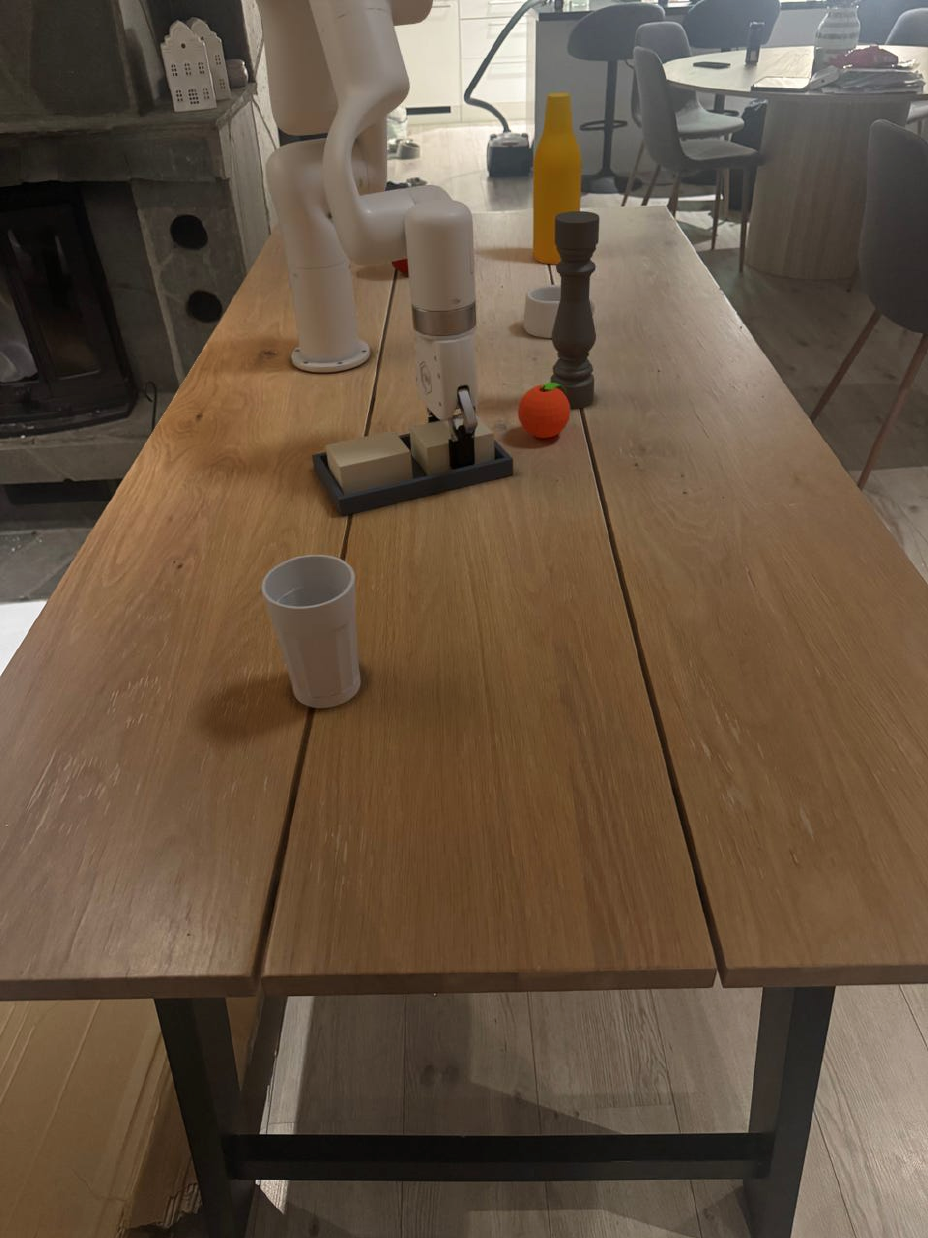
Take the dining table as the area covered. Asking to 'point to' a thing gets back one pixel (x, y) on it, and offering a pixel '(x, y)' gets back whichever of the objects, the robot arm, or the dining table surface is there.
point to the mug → (543, 310)
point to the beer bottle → (554, 176)
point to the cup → (316, 627)
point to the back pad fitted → (369, 462)
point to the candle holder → (575, 306)
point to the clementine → (544, 410)
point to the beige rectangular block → (446, 445)
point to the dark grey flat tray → (412, 481)
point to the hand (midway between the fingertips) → (452, 453)
